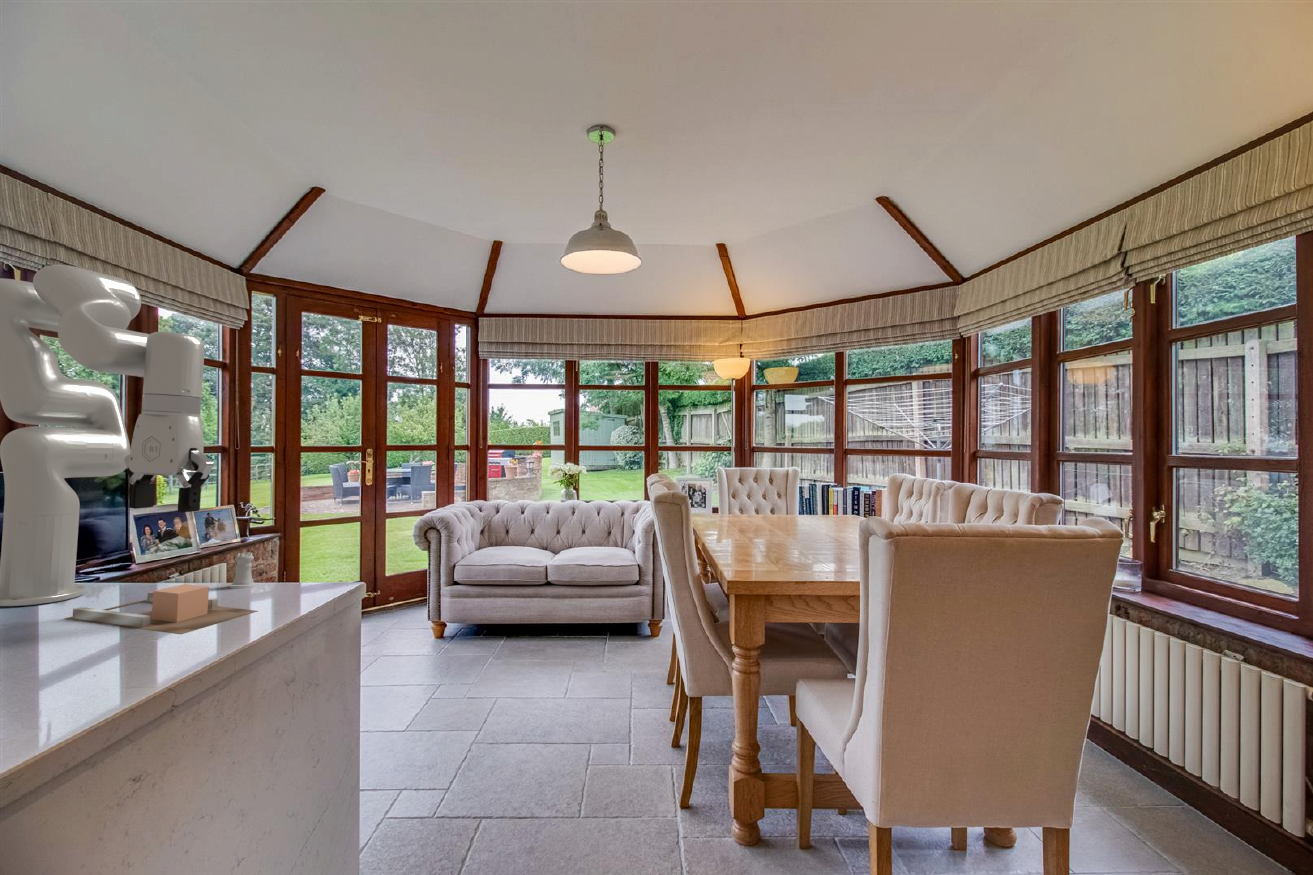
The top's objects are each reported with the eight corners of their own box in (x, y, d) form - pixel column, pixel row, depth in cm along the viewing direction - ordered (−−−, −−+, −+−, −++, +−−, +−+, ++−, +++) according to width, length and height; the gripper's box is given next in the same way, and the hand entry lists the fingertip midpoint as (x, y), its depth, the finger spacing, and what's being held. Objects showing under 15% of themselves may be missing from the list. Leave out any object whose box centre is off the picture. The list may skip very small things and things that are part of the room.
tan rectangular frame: (63, 627, 90) (64, 608, 90) (151, 606, 102) (152, 590, 103) (180, 644, 85) (182, 623, 85) (258, 619, 98) (259, 602, 98)
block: (151, 619, 91) (153, 590, 91) (183, 610, 96) (184, 584, 96) (176, 622, 90) (178, 593, 90) (207, 613, 95) (209, 586, 95)
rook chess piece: (261, 591, 116) (263, 552, 116) (243, 597, 111) (245, 556, 111) (241, 590, 116) (243, 550, 116) (222, 595, 112) (224, 554, 112)
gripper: (106, 404, 93) (99, 508, 93) (190, 406, 90) (183, 515, 89) (155, 407, 101) (148, 504, 100) (235, 410, 97) (228, 511, 97)
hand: (165, 509), depth 95 cm, fingers open, 9 cm apart
